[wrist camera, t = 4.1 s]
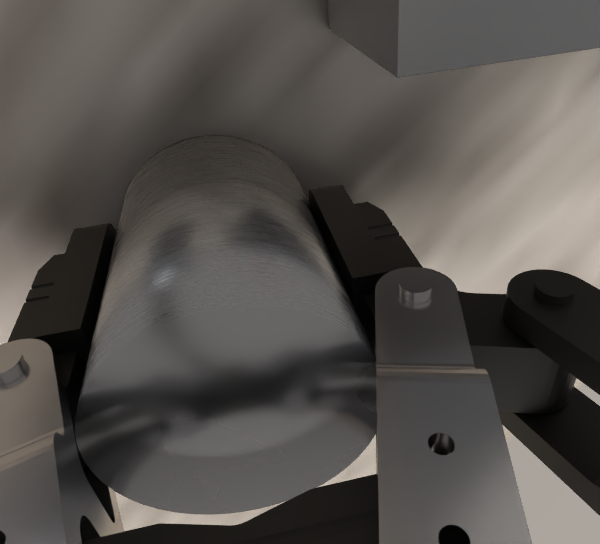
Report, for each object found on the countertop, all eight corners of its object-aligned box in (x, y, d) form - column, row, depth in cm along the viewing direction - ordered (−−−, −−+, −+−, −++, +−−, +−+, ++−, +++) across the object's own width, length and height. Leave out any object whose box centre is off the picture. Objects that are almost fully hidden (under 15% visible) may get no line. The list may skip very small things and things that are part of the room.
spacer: (94, 153, 11) (17, 347, 6) (299, 121, 11) (388, 276, 6) (150, 311, 13) (129, 538, 8) (314, 280, 14) (385, 479, 9)
